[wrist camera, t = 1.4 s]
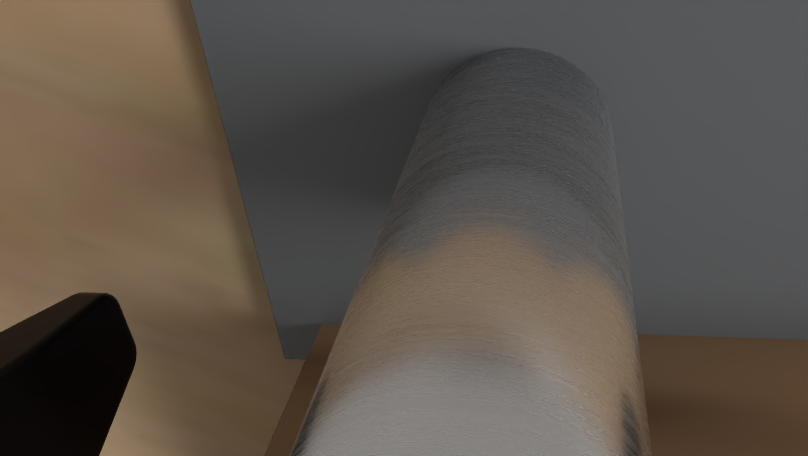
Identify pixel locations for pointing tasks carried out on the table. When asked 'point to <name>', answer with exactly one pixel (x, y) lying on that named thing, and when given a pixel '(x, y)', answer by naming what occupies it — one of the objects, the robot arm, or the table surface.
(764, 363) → the hole block
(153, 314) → the table surface
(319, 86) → the panel
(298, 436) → the peg
